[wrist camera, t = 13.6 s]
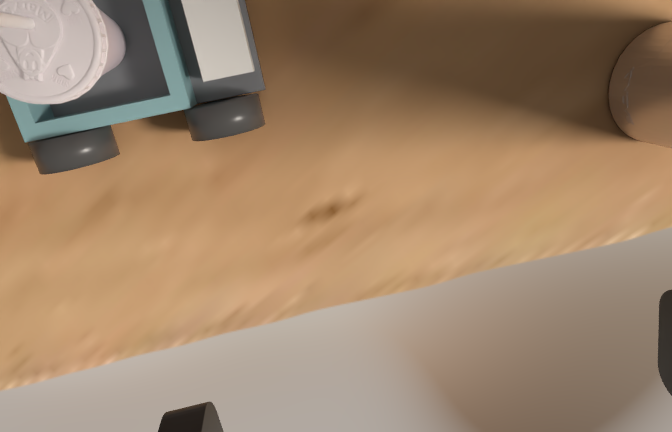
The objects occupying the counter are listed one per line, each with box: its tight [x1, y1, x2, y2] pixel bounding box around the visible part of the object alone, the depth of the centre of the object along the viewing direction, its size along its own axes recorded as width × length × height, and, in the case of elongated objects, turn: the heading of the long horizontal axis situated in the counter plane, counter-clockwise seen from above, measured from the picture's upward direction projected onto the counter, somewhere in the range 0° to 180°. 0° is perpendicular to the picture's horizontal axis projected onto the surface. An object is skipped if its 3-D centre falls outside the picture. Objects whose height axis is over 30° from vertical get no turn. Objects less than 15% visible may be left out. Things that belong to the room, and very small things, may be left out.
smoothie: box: [0, 0, 126, 104], centre depth 26 cm, size 6×6×14 cm
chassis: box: [6, 0, 265, 174], centre depth 31 cm, size 16×15×5 cm
